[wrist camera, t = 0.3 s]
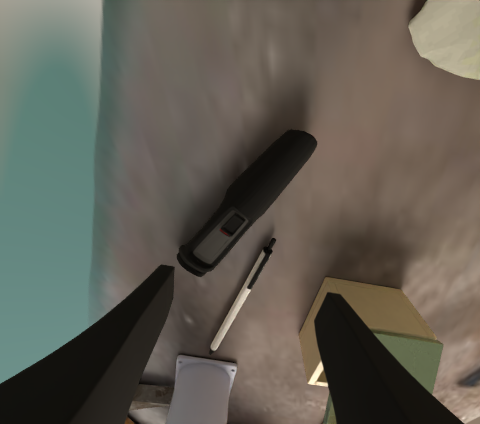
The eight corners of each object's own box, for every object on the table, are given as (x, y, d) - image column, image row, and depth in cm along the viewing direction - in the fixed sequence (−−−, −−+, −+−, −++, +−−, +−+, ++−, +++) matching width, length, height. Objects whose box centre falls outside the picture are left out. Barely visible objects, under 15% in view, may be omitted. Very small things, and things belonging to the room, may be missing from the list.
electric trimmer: (322, 147, 18) (336, 157, 15) (207, 268, 23) (201, 292, 21) (286, 113, 17) (292, 117, 14) (175, 249, 23) (164, 271, 20)
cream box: (362, 345, 28) (384, 395, 23) (298, 334, 27) (307, 384, 23) (401, 289, 23) (437, 337, 19) (325, 276, 23) (343, 322, 18)
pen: (278, 238, 21) (279, 245, 20) (213, 351, 30) (212, 361, 29) (269, 234, 21) (270, 242, 20) (206, 350, 30) (205, 359, 29)
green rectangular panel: (410, 457, 19) (416, 465, 19) (318, 443, 19) (321, 451, 18) (437, 339, 19) (444, 344, 18) (342, 324, 18) (346, 328, 18)
